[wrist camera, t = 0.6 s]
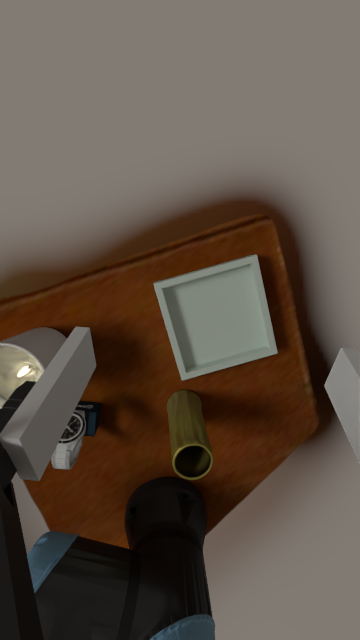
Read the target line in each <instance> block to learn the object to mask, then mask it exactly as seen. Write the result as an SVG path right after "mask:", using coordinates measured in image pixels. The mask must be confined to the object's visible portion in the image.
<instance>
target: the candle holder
mask: <svg viewBox="0 0 360 640" xmlns="http://www.w3.org/2000/svg"><path fill="white" fill-rule="evenodd" d="M66 340H67V338H66V337H65V336H64V335H63V334H62V333H60V332H59V331H57V330H55V329H52V328H47V327H40V328H35V329H32V330H29V331H26V332H24V333H21V334H18V335H16V336H13V337H10V338H8V339H5V340H2V341H0V409H2V406H3V405H4V404H5V402H6V401H7V400H8V398H9V397H10V396H11V394H12V393H13V392H14V391H15V389H16V388H18V387H19V386H20V385H22V384H23V383H24V382H26V381H36V382H37V381H38V379H39V378H40V376H41V375H42V374H43V372H44V371H45V369H46V368H47V367H48V365H49V364H50V362H51V361H52V359H53V358H54V357H55V355H56V354H57V352H58V351H59V350H60V348H61V347H62V345H63V344H64V342H65V341H66Z"/></svg>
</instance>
